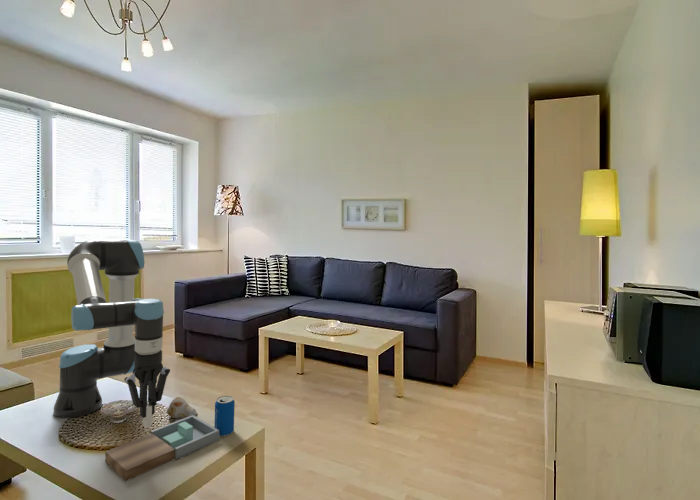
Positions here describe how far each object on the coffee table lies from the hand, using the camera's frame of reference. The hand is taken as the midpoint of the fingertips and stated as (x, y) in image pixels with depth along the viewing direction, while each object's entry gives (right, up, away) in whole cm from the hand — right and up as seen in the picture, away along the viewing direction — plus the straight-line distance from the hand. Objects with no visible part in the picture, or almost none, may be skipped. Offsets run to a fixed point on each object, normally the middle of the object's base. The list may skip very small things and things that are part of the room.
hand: (147, 425), depth 122 cm
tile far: (+7, -7, +8) cm, 13 cm away
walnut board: (-1, -10, -2) cm, 10 cm away
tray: (+8, -9, +10) cm, 16 cm away
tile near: (+5, -9, +7) cm, 12 cm away
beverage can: (+19, -10, +16) cm, 26 cm away
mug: (0, -9, +26) cm, 27 cm away
